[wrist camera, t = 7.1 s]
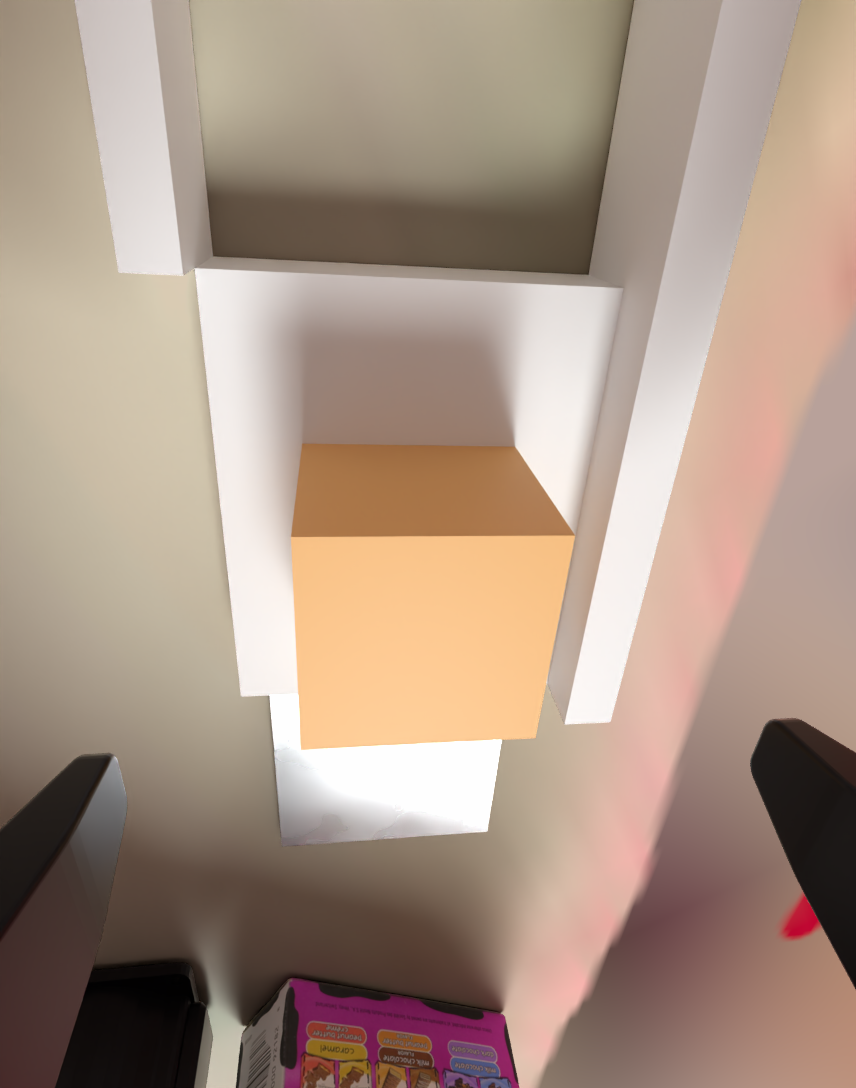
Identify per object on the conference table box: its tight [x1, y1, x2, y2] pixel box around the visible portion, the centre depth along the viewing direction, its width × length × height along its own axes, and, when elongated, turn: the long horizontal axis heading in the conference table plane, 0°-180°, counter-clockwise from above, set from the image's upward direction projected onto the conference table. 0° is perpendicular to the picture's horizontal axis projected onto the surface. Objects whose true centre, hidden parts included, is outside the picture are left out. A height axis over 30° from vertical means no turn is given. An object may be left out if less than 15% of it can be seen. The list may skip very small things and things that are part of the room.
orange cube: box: [291, 444, 575, 750], centre depth 13 cm, size 4×4×4 cm
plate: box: [270, 694, 501, 847], centre depth 21 cm, size 7×7×1 cm
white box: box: [75, 0, 801, 724], centre depth 13 cm, size 10×18×4 cm, turn 176°
